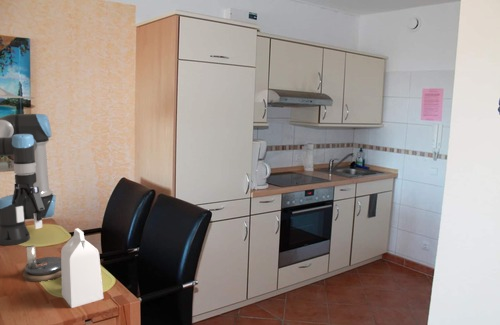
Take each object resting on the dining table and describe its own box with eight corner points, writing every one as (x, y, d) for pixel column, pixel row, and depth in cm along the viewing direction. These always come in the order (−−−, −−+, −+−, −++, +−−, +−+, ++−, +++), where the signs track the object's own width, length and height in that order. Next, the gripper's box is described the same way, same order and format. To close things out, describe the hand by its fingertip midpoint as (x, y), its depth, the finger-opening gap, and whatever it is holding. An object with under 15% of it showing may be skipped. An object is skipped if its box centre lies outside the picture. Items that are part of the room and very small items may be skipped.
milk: (103, 298, 159) (100, 231, 155) (71, 308, 152) (67, 238, 148) (92, 287, 168) (89, 223, 164) (61, 295, 161) (57, 229, 157)
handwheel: (53, 258, 190) (51, 234, 189) (72, 266, 182) (70, 242, 180) (18, 269, 178) (16, 244, 177) (37, 278, 170) (35, 252, 168)
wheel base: (55, 262, 192) (55, 257, 192) (75, 272, 182) (75, 268, 181) (16, 274, 179) (15, 269, 179) (34, 286, 169) (34, 281, 168)
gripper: (52, 175, 165) (55, 228, 168) (18, 168, 179) (22, 217, 182) (33, 178, 159) (37, 233, 162) (-1, 171, 173) (4, 221, 176)
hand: (29, 225), depth 172 cm, fingers open, 13 cm apart
